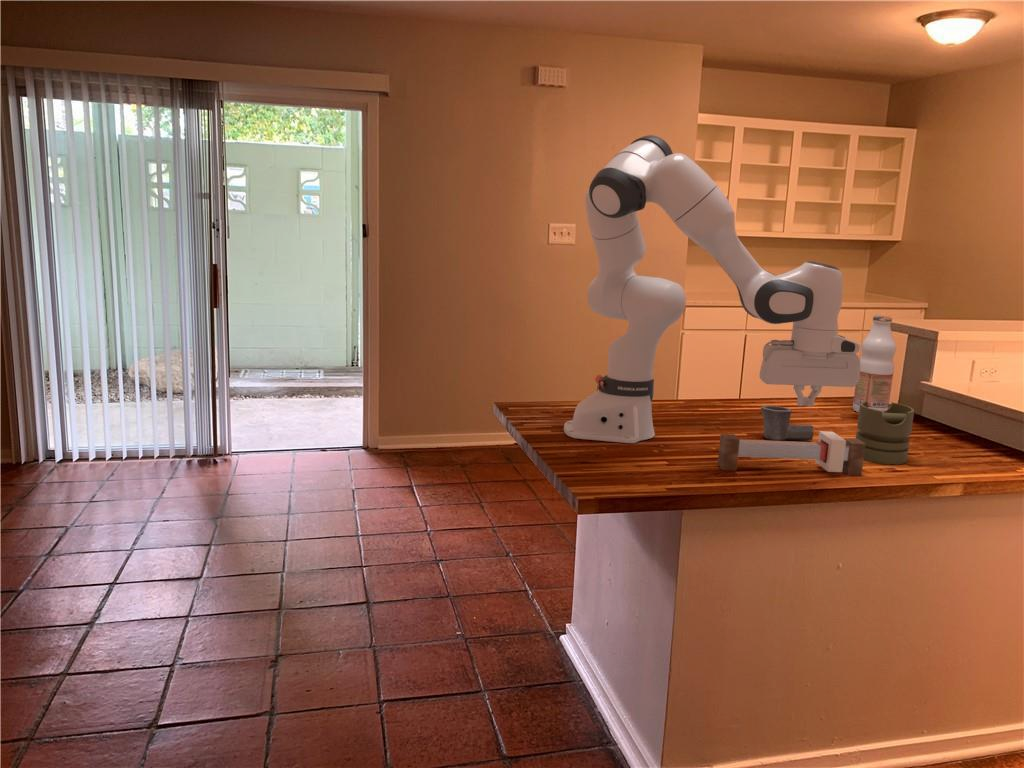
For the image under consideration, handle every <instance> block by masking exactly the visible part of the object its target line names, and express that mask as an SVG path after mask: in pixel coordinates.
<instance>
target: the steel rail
mask: <svg viewBox="0 0 1024 768" xmlns="http://www.w3.org/2000/svg"><path fill="white" fill-rule="evenodd" d="M828 447H829V444H828V443H826V442H818V440H817V441H814V442H813V441H795V440H789V441H787V440H768V439H767V440H763V439H762V440H760V439H759V440H758V439H740V441H739V451H738V458H741V457H742V458H761V459H762V458H764V459H765V458H766V459H791V460H794V459H795V460H815V461H816V460H820V461H827V455H828ZM849 453H850V447H849V446H848V445H846V446H845V453H844V461H848V460H849Z"/></svg>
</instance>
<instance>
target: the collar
mask: <svg viewBox="0 0 1024 768" xmlns="http://www.w3.org/2000/svg"><path fill="white" fill-rule="evenodd" d="M817 442H826V443H828V444H829V447H828V455H827V461H820V460H815V461H814V462H815V463H816V464H818V465H819V466H820V467H821V468H823V470H825V471H826V472H829V473H843V471H842V468H843V461H844V453H845V446H846V440H845V439H844V438H843V437H842V436H840V435H838V433H835V432H834V431H825V430H824V431H821V430H819V431H818V437H817Z"/></svg>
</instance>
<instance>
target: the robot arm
mask: <svg viewBox="0 0 1024 768" xmlns="http://www.w3.org/2000/svg"><path fill="white" fill-rule="evenodd" d="M584 200H585V211H586V218H587V222H588V226H589V227H588V228H589V230H590V231H589V232H590V235H591V237H592V241H593V244H594V245H593V246H594V248H595V252H596V256H597V260H598V272H597V275H596V276H595V277H594V279H593V280H591V282H590V283H589V286H588V288H587V293H586V294H587V295H586V297H587V303H588V305H589V308H590V309H591V310H592V312H594V313H597V314H598V315H601V316H603V317H606V318H609V319H615V320H622V321H628V325H627V328H626V331H625V333H623V335H621V336H619V337H617V338H616V339H614V340H613V341H612V342H611V343H610V345H609V347H608V355H607V357H608V358H607V369H606V373H607V374H606V375H604V376H603V375H601V374H597V375H596V376H595V377H594V381H595V382H596V383H597V391H595V392H593V393H592V394H590V395H589V396H588V397H586V398H584V399H583V400H581V401H580V402H578V404H577V405H576V407H575V410H574V413H573V416H572V420H568V421H566V422H565V423H564V426H563V432H564V434H565V435H567V436H568V437H570V438H572V439H580V440H592V441H601V442H613V443H622V444H624V443H625V444H635V443H638V442H641V441H645V440H648V439H653V438H654V437H655V436H656V433H655V429H654V423H653V415H652V414H653V413H652V411H653V409H652V403H653V399H654V393H655V379H654V377H653V374H654V365H655V357H656V351H657V347H658V344H659V342H660V339H661V338H662V336H663V334H664V332H665V331H666V330H667V329H668V328H669V327H670V326H671V325H673V324H674V323H676V322H677V321H678V320H679V319H680V318H681V317H682V315H683V314H684V312H685V309H686V305H687V298H686V293H685V291H684V288H683V287H682V285H681V284H679V283H678V282H676V281H675V282H674V281H673V280H669V279H666V278H663V277H655V276H646V275H638V274H637V273H636V271H635V270H634V267H636V266H637V265H638V264H639V263H640V262H641V261H642V260H643V258H644V256H645V253H646V249H647V248H646V247H647V246H646V242H645V239H644V236H643V232H642V228H641V223H640V219H639V217H638V216H639V215H638V213H637V212H638V211H642V210H644V209H645V207H646V204H647V203H653V204H657V205H658V206H660V208H662V210H663V211H664V212H665V213H666V215H667V216H668V217H669V218H670V220H671V221H672V222H673V223H674V224H675V225H676V226H677V228H678V229H679V230H680V231H681V232H682V233H683V234H684V235H685V236H686V237H687V238H689V239H690V240H691V241H692V242H693V243H695V245H697V246H699V248H702V249H703V250H704V251H706V252H707V253H708V254H709V255H711V257H712V258H714V259H715V261H716V262H717V263H718V264H719V266H720V267H721V269H723V271H724V272H725V274H727V276H728V277H729V278H730V279H731V281H732V282H733V284H734V285H735V286H736V289H737V291H738V296H739V301H740V303H741V306H742V308H743V310H744V311H745V312H746V313H747V314H748V315H749V316H750V317H753V318H755V319H758V320H761V321H763V322H765V323H768V324H771V325H781V324H787V323H792V330H791V339H790V340H788V339H786V340H785V339H782V340H779V339H772V340H771V341H768V342H767V343H766V344H765V345H764V346H763V348H762V357H763V358H762V361H761V365H760V371H759V378H760V380H761V382H762V383H764V384H766V385H775V386H776V385H778V386H780V385H781V386H782V385H784V386H793V390H794V393H795V394H796V396H797V400H796V405H798V406H799V407H814V406H815V400H816V398H817V397H818V396H819V395H820V393H821V392H822V389H823V387H835V388H836V387H839V388H840V387H841V388H843V387H844V388H855V386H856V385H857V383H858V382H859V377H860V359H861V357H860V356H859V355H858V354H857V353H860V351H861V344H860V343H858V342H857V341H854V340H853V339H852V340H851V339H849V338H846V337H845V336H842V335H839V334H838V333H839V323H838V317H839V314H840V311H841V310H842V302H843V293H844V292H843V291H844V290H843V288H844V279H843V274H842V271H841V269H839V268H838V267H836V266H834V265H829V264H825V263H822V262H817V261H813V260H812V261H809V260H808V261H805V262H804V263H802V264H801V265H800V266H798V267H796V268H794V269H792V270H790V271H787V272H785V273H781V274H774V273H772V272H769V271H768V270H766V269H764V268H763V267H761V266H760V264H758V262H757V260H755V258H754V257H753V255H752V254H751V253H750V252H749V250H748V249H747V247H745V246H744V243H742V242H741V240H740V239H739V236H738V235H737V231H736V225H735V224H736V223H735V222H736V221H735V219H736V217H735V211H734V209H733V207H732V205H731V203H730V201H729V199H728V198H727V196H726V195H725V194H724V192H723V190H721V188H720V187H719V186H718V185H717V183H716V182H715V181H714V180H713V178H711V176H710V175H709V174H708V173H707V172H706V171H704V169H703V168H702V167H701V166H699V165H698V164H697V163H696V162H695V161H694V160H693V159H692V158H690V157H689V156H687V155H686V154H684V153H680V152H676V153H673V151H672V148H671V146H670V145H669V143H668V142H667V141H665V140H664V139H663V138H661V137H659V136H657V135H653V134H650V135H649V134H648V135H645V136H644V135H643V136H642V137H638V138H637V139H635V140H633V141H632V142H631V143H630V144H629V145H628V146H625V147H624V148H623V149H621V150H620V151H619V152H617V154H615V155H614V156H613V158H612V159H611V160H610V161H609V162H608V163H607V164H606V165H605V166H603V168H602V169H600V170H599V171H597V173H596V174H595V176H594V177H593V179H592V180H591V183H590V185H589V188H588V189H587V190H586V193H585V198H584ZM806 386H810V389H811V391H810V393H808V396H804V393H803V391H805V387H806Z"/></svg>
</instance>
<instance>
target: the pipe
mask: <svg viewBox="0 0 1024 768" xmlns="http://www.w3.org/2000/svg"><path fill="white" fill-rule="evenodd" d="M760 410H761V413H762V417H763V418H762V419H763V437H764V438H766V439H767V440H769V441H787V440H789V441H812V440H813V437H814V426H813V425H811V424H791V423H790V421H791V414H792V411H793V410H792V409H791V408H787V407H784V406H776V405H763V406H760Z"/></svg>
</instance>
